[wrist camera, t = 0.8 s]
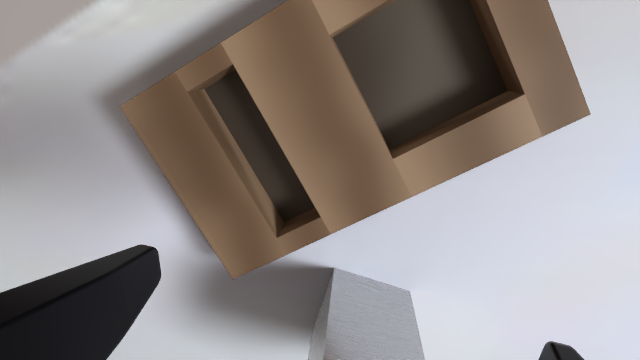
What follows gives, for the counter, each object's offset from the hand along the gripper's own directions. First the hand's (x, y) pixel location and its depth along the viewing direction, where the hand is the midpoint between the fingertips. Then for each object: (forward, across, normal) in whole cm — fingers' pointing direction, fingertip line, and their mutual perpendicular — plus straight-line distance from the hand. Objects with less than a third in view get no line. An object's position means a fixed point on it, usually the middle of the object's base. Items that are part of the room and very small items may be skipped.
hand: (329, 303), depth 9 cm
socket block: (+12, +2, -2) cm, 13 cm away
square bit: (+11, 0, +10) cm, 15 cm away
